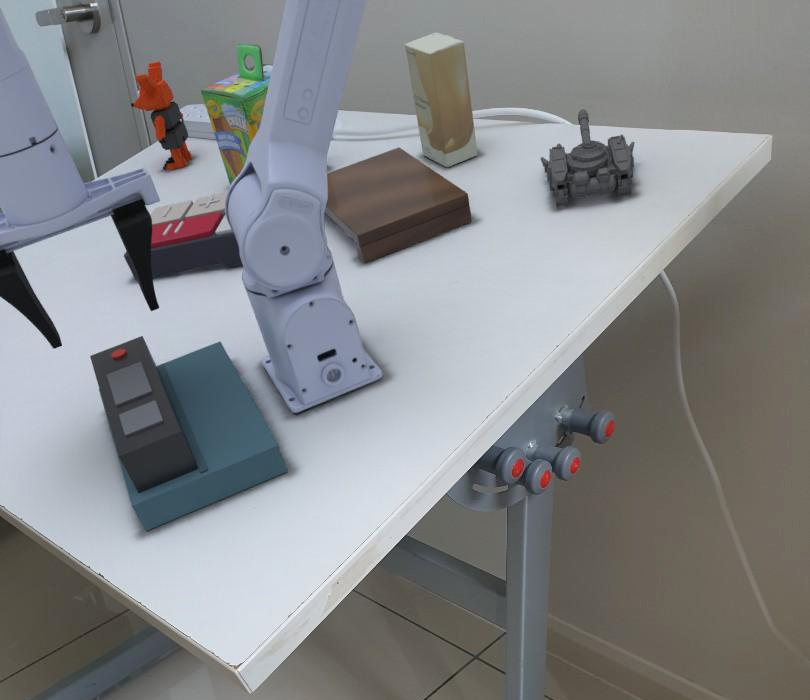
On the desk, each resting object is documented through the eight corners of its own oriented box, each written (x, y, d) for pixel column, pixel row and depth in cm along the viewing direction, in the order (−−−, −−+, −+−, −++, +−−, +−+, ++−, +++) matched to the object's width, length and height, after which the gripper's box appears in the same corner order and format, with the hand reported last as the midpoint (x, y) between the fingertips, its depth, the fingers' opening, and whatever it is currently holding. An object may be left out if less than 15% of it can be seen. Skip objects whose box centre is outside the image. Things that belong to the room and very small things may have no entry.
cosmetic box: (421, 155, 104) (401, 43, 95) (453, 143, 105) (435, 30, 96) (448, 169, 99) (428, 52, 91) (480, 155, 100) (464, 38, 92)
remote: (198, 468, 62) (179, 428, 60) (138, 493, 61) (117, 453, 59) (158, 370, 74) (141, 333, 71) (107, 390, 73) (88, 353, 71)
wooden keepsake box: (472, 222, 88) (468, 193, 86) (364, 264, 86) (357, 235, 84) (404, 173, 101) (399, 146, 99) (309, 208, 99) (301, 182, 97)
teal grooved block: (288, 471, 64) (277, 443, 62) (146, 531, 62) (130, 504, 60) (229, 365, 77) (219, 339, 75) (110, 412, 75) (97, 386, 73)
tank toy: (541, 166, 94) (536, 116, 91) (631, 151, 93) (630, 99, 89) (545, 214, 86) (540, 161, 82) (644, 198, 84) (643, 144, 81)
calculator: (152, 204, 99) (273, 178, 95) (168, 239, 102) (286, 215, 98) (118, 249, 92) (249, 222, 88) (136, 286, 94) (264, 261, 91)
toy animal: (165, 155, 123) (131, 64, 115) (201, 150, 122) (168, 57, 114) (145, 179, 118) (107, 84, 109) (182, 173, 116) (146, 77, 108)
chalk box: (229, 188, 109) (186, 59, 99) (287, 158, 112) (250, 31, 102) (271, 200, 103) (229, 65, 93) (330, 169, 106) (296, 35, 96)
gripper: (112, 92, 61) (183, 270, 70) (-94, 162, 59) (8, 337, 68) (129, 115, 56) (203, 303, 65) (-95, 192, 54) (15, 376, 63)
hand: (105, 323), depth 66 cm, fingers open, 7 cm apart
